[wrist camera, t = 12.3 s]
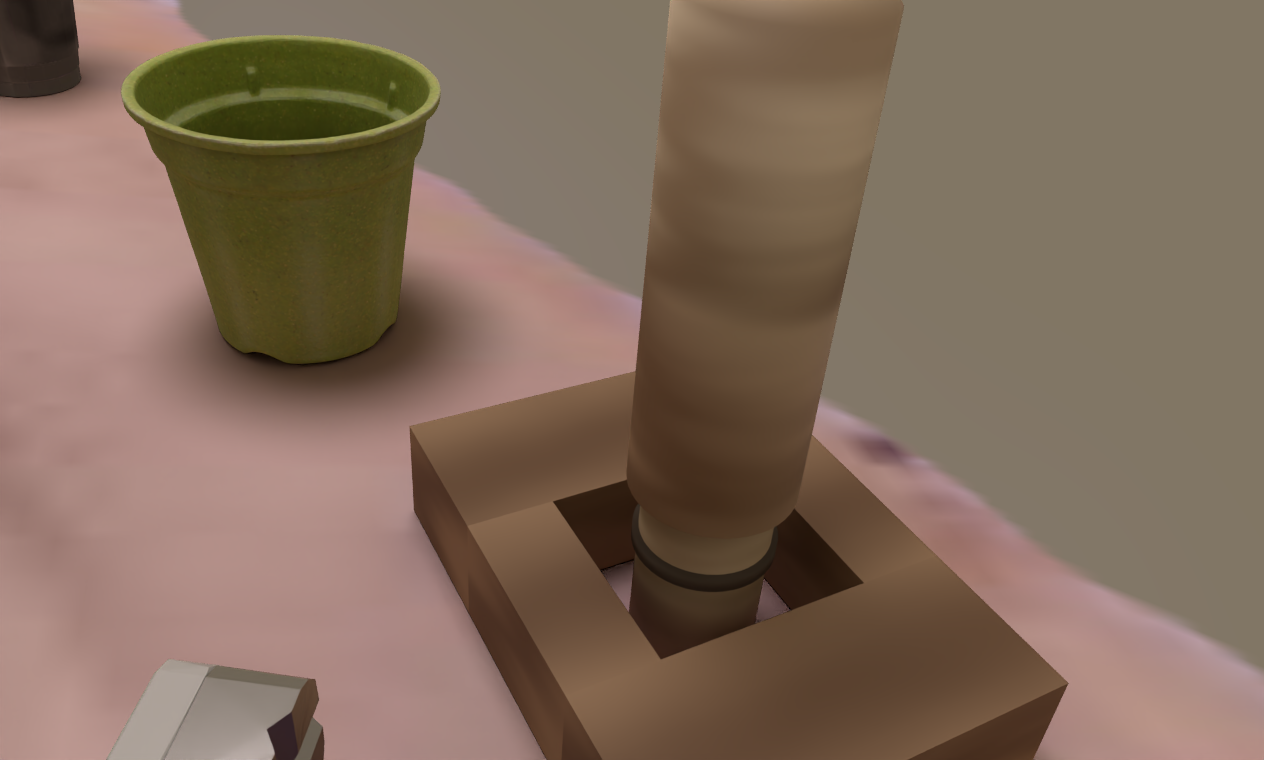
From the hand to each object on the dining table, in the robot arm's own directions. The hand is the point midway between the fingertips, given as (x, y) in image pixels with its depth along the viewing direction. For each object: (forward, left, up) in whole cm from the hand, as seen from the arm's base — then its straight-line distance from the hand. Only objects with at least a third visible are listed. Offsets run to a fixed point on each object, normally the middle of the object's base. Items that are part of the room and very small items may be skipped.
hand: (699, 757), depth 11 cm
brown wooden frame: (-10, +7, -11) cm, 17 cm away
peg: (-10, +7, -11) cm, 17 cm away
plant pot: (-28, +2, -12) cm, 30 cm away
